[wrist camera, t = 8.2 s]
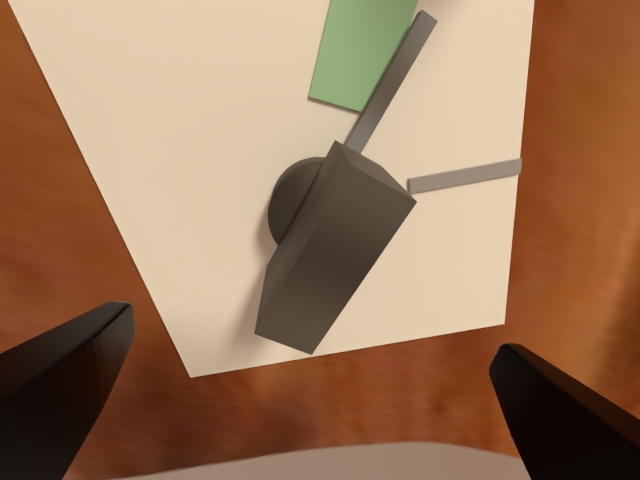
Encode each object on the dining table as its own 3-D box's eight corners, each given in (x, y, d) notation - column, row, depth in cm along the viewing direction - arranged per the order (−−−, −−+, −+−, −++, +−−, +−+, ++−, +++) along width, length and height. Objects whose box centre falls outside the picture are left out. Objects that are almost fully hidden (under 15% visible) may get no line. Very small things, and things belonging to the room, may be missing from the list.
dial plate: (194, 366, 24) (189, 380, 23) (25, 4, 14) (3, -3, 13) (496, 314, 23) (506, 325, 22) (528, -98, 14) (548, -114, 13)
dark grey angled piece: (327, 272, 19) (340, 365, 13) (248, 237, 18) (220, 321, 12) (465, 51, 15) (594, 25, 8) (374, -16, 14) (441, -107, 7)
